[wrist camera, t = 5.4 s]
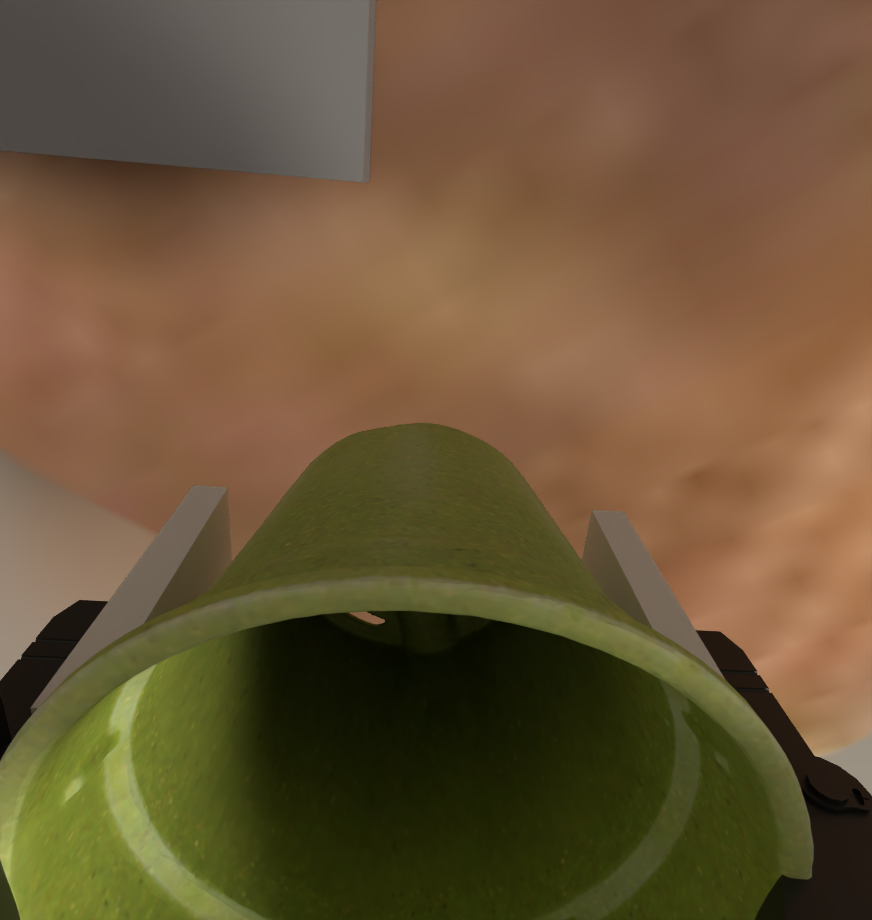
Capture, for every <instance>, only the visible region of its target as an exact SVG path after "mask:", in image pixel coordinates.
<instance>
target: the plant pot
mask: <svg viewBox="0 0 872 920" xmlns="http://www.w3.org/2000/svg"><path fill="white" fill-rule="evenodd" d="M365 611H366V612H368V613H371V614H372V615H375V616H377V617H379V618H381V619H385V623H383V624H372V623H369V622H366V621H364V620H362V619H359V618H357V617H355V616H354V615H352V614H350V613H348V612H365ZM813 857H814V844H813V838H812V833H811V826H810V818H809V814H808V811H807V807H806V804H805V800H804V797H803V794H802V790H801V787H800V784H799V782H798V779H797V777H796V775H795V772H794V770H793V768H792V766H791V764H790V762H789V760H788V758H787V756H786V754H785V753H784V751H783V750H782V748H781V747H780V745H779V744H778V742H777V741H776V739H775V738H774V736H773V735H772V733H771V732H770V730H769V729H768V728H767V727H766V725H765V724H764V723H763V721H762V720H761V719H760V718H759V716H758V715H757V714H756V713H755V711H754V710H753V709H752V708H751V706H750V705H749V704H748V702H747V701H746V700H745V699H744V698H743V697H742V696H741V695H740V694H739V693H738V692H737V691H736V690H735V689H734V688H733V687H732V686H731V685H730V684H729V683H728V682H727V681H726V680H725V679H724V678H723V677H722V676H720V675H719V674H718V673H717V672H715V671H714V670H713V669H712V668H711V667H709V666H708V665H707V664H706V663H704V662H703V661H702V660H700V659H699V658H697V657H696V656H694V655H693V654H692V653H690V652H689V651H687V650H686V649H684V648H683V647H681V646H680V645H678V644H677V643H675V642H674V641H672V640H670V639H669V638H667V637H665V636H664V635H662V634H660V633H659V632H657V631H655V630H654V629H652V628H650V627H648V626H646V625H644V624H642V623H640V622H638V621H636V620H634V619H633V618H632V617H631V616H630V615H629V614H628V613H626V612H625V611H624V610H623V609H621V608H620V607H619V606H618V605H616V604H615V603H614V602H612V601H611V600H610V599H608V597H607V596H606V594H605V593H604V591H603V590H602V589H601V587H600V586H599V584H598V583H597V582H596V580H595V579H594V577H593V576H592V574H591V573H590V572H589V570H588V569H587V567H586V566H585V564H584V563H583V562H582V560H581V559H580V557H579V556H578V554H577V553H576V552H575V550H574V549H573V547H572V546H571V544H570V543H569V542H568V540H567V539H566V537H565V536H564V534H563V533H562V532H561V530H560V529H559V527H558V526H557V524H556V523H555V521H554V520H553V519H552V517H551V516H550V514H549V513H548V511H547V510H546V509H545V507H544V506H543V504H542V503H541V501H540V500H539V499H538V497H537V496H536V494H535V493H534V491H533V490H532V488H531V487H530V486H529V484H528V483H527V481H526V480H525V478H524V477H523V476H522V475H521V473H520V472H519V471H518V470H517V468H516V467H515V466H514V465H513V463H512V462H511V461H510V460H508V459H507V458H506V457H505V456H504V455H503V454H502V453H500V452H499V451H498V450H497V449H495V448H494V447H492V446H491V445H489V444H488V443H486V442H484V441H482V440H480V439H479V438H477V437H474V436H472V435H470V434H467V433H465V432H462V431H460V430H457V429H454V428H451V427H448V426H443V425H439V424H432V423H415V424H404V425H396V426H390V427H383V428H377V429H372V430H367V431H362V432H358V433H355V434H353V435H350V436H348V437H346V438H344V439H342V440H340V441H338V442H336V443H335V444H334V445H332V446H331V447H329V448H328V449H327V450H325V451H324V452H323V453H322V454H320V455H319V456H318V457H317V458H316V459H315V460H314V461H313V462H311V463H310V465H309V466H308V467H307V468H306V469H305V471H304V472H303V473H302V474H301V475H300V477H299V478H298V479H297V480H296V482H295V483H294V484H293V485H292V486H291V488H290V489H289V490H288V491H287V492H286V494H285V495H284V496H283V498H282V499H281V500H280V502H279V503H278V504H277V506H276V507H275V508H274V510H273V511H272V512H271V514H270V515H269V516H268V518H267V519H266V520H265V522H264V523H263V524H262V525H261V527H260V528H259V529H258V530H257V532H256V533H255V534H254V535H253V537H252V538H251V539H250V540H249V542H248V543H247V544H246V545H245V546H244V548H243V549H242V550H241V551H240V553H239V554H238V555H237V556H236V558H235V559H234V560H233V561H232V563H231V564H230V565H229V566H228V567H227V569H226V570H225V571H224V572H223V573H222V574H221V576H220V577H219V578H218V579H217V581H216V582H215V583H214V584H213V585H212V587H211V588H210V589H209V590H208V591H206V592H204V593H203V594H201V595H200V596H198V597H197V598H195V599H194V600H192V601H190V602H189V603H188V604H186V605H183V606H181V607H178V608H176V609H174V610H171V611H169V612H166V613H164V614H162V615H159V616H157V617H155V618H153V619H152V620H150V621H148V622H146V623H144V624H143V625H141V626H139V627H137V628H136V629H134V630H132V631H130V632H129V633H127V634H125V635H123V636H122V637H120V638H119V639H117V640H116V641H114V642H112V643H111V644H109V645H108V646H106V647H105V648H104V649H102V650H101V651H99V652H98V653H96V654H95V655H93V656H92V657H91V658H90V659H89V660H87V661H86V662H85V663H84V664H82V665H81V666H80V667H79V668H77V669H76V670H75V671H74V672H72V673H71V674H70V675H69V676H68V677H67V678H66V679H65V680H64V681H63V682H62V683H61V684H60V685H59V686H58V687H57V688H56V689H55V690H54V691H53V692H52V693H51V694H50V695H49V696H48V698H47V699H46V700H45V701H44V702H43V703H42V704H41V705H40V706H39V707H38V708H37V710H36V711H35V712H34V713H33V714H32V715H31V717H30V718H29V719H28V720H27V721H26V723H25V724H24V725H23V727H22V728H21V729H20V730H19V732H18V733H17V735H16V736H15V737H14V739H13V740H12V742H11V743H10V745H9V746H8V748H7V750H6V752H5V753H4V755H3V757H2V759H1V761H0V860H1V863H2V866H3V869H4V872H5V875H6V877H7V880H8V883H9V885H10V888H11V891H12V893H13V896H14V899H15V902H16V905H17V908H18V912H19V916H20V920H755V918H756V915H757V913H758V911H759V909H760V907H761V906H762V904H763V902H764V900H765V899H766V897H767V895H768V893H769V892H770V890H771V889H772V888H773V886H774V885H775V883H776V881H777V880H778V879H779V878H780V876H781V875H782V874H783V875H784V876H786V877H790V878H795V879H807V880H808V879H810V878H811V877H812V864H813Z"/></svg>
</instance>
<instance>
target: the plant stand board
mask: <svg viewBox="0 0 872 920" xmlns="http://www.w3.org/2000/svg"><path fill="white" fill-rule="evenodd" d="M375 16H376V0H0V151H10V152H22V153H33V154H44V155H56V156H67V157H79V158H90V159H102V160H113V161H124V162H136V163H147V164H159V165H170V166H181V167H193V168H204V169H216V170H227V171H239V172H250V173H261V174H273V175H284V176H296V177H307V178H319V179H330V180H341V181H353V182H369V181H370V153H371V126H372V98H373V71H374V43H375Z"/></svg>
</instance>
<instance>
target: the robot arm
mask: <svg viewBox="0 0 872 920" xmlns="http://www.w3.org/2000/svg"><path fill="white" fill-rule="evenodd" d="M582 562H583V563H584V564H585V566H586V567H587V569H588V570H589V572H590V573H591V574H592V576H593V577H594V579H595V580H596V582H597V583H598V584H599V586H600V587H601V589H602V590H603V591H604V593H605V594H606V596H607V597H608V599H610V600H611V601H612V602H614V603H615V604H616V605H618V606H619V607H620V608H621V609H623V610H624V611H625V612H626V613H628V614H629V615H630V616H631V617H632V618H633V619H634V620H636V621H638V622H640V623H642V624H644V625H646V626H648V627H650V628H652V629H654V630H655V631H657V632H659V633H660V634H662V635H664V636H665V637H667V638H669V639H670V640H672V641H674V642H675V643H677V644H678V645H680V646H681V647H683V648H684V649H686V650H687V651H689V652H690V653H692V654H693V655H694V656H696V657H697V658H699V659H700V660H702V661H703V662H704V663H706V664H707V665H708V666H709V667H711V668H712V669H713V670H714V671H715V672H717V673H718V674H719V675H720V676H722V677H723V678H724V679H725V680H726V681H727V682H728V683H729V684H730V685H731V686H732V687H733V688H734V689H735V690H736V691H737V692H738V693H739V694H740V695H741V696H742V697H743V698H744V699H745V700H746V701H747V702H748V704H749V705H750V706H751V708H752V709H753V710H754V711H755V713H756V714H757V715H758V716H759V718H760V719H761V720H762V721H763V723H764V724H765V725H766V727H767V728H768V729H769V730H770V732H771V733H772V735H773V736H774V738H775V739H776V741H777V742H778V744H779V745H780V747H781V748H782V750H783V751H784V753H785V754H786V756H787V758H788V760H789V762H790V764H791V766H792V768H793V770H794V772H795V775H796V777H797V779H798V782H799V784H800V787H801V790H802V794H803V797H804V800H805V804H806V807H807V811H808V814H809V818H810V826H811V833H812V838H813V844H814V857H813V864H812V877H811V878H810V879H808V880H807V879H795V878H790V877H786V876H784V875H783V874H782V875H781V876H780V878H779V879H778V880H777V881H776V883H775V885H774V886H773V888H772V889H771V890H770V892H769V893H768V895H767V897H766V899H765V900H764V902H763V904H762V906H761V907H760V909H759V911H758V913H757V915H756V918H755V920H872V796H871V794H870V793H869V792H868V791H867V790H866V789H865V788H864V787H863V785H862V784H861V783H860V782H859V781H858V780H857V779H856V778H854V777H853V776H852V775H850V774H849V773H847V772H846V771H845V770H843V769H842V768H841V767H839V766H837V765H835V764H833V763H831V762H829V761H827V760H824V759H822V758H820V757H816V756H814V755H813V753H812V752H811V750H810V749H809V747H808V746H807V744H806V743H805V741H804V740H803V738H802V737H801V735H800V734H799V732H798V731H797V729H796V728H795V726H794V725H793V724H792V722H791V721H790V719H789V718H788V716H787V715H786V713H785V712H784V710H783V709H782V707H781V706H780V704H779V703H778V701H777V700H776V698H775V697H774V696H773V694H772V693H769V688H768V687H767V685H766V684H765V682H764V681H763V679H762V678H761V676H760V675H757V670H756V669H755V667H754V666H753V665H752V663H751V662H750V660H749V659H748V657H747V656H746V654H745V653H744V651H743V650H742V649H741V648H739V647H738V646H737V645H736V644H735V643H733V642H732V641H731V640H730V639H728V638H727V637H726V636H725V635H724V634H722V633H721V632H717V631H698V630H695V629H694V627H693V625H692V624H691V622H690V620H689V619H688V617H687V615H686V614H685V612H684V610H683V609H682V607H681V605H680V604H679V602H678V600H677V599H676V597H675V595H674V594H673V592H672V591H671V589H670V587H669V586H668V584H667V582H666V581H665V579H664V577H663V576H662V574H661V572H660V571H659V569H658V567H657V566H656V564H655V562H654V561H653V559H652V557H651V556H650V554H649V552H648V551H647V549H646V547H645V546H644V544H643V542H642V541H641V539H640V538H639V536H638V534H637V533H636V531H635V529H634V528H633V526H632V524H631V523H630V521H629V519H628V518H627V516H626V514H625V513H624V512H617V511H601V510H592V512H591V517H590V522H589V527H588V532H587V537H586V542H585V547H584V552H583V557H582ZM231 563H232V553H231V535H230V517H229V499H228V487H213V486H196V485H193V487H192V488H191V489H190V491H189V492H188V494H187V495H186V496H185V498H184V499H183V500H182V502H181V503H180V504H179V506H178V507H177V509H176V510H175V511H174V513H173V514H172V515H171V517H170V518H169V520H168V521H167V522H166V524H165V525H164V526H163V528H162V529H161V530H160V532H159V533H158V535H157V536H156V537H155V539H154V540H153V541H152V543H151V544H150V545H149V547H148V548H147V550H146V551H145V552H144V554H143V555H142V556H141V558H140V559H139V560H138V562H137V563H136V565H135V566H134V567H133V569H132V570H131V571H130V573H129V574H128V576H127V577H126V578H125V580H124V581H123V582H122V584H121V585H120V586H119V588H118V589H117V590H116V592H115V593H114V595H113V596H112V597H111V599H110V600H109V601H88V600H79V601H77V602H76V603H74V604H73V605H71V606H70V607H68V608H67V609H65V610H64V611H62V612H61V613H59V614H58V615H56V616H54V617H53V618H52V619H51V621H50V622H49V623H48V624H47V625H46V627H45V628H44V629H43V630H42V631H41V633H40V634H39V635H38V636H37V638H36V642H32V643H31V645H30V646H29V647H28V648H27V649H26V651H25V652H24V653H23V654H22V658H21V660H17V661H16V663H15V664H14V665H13V666H12V667H11V669H10V670H9V671H8V672H7V673H6V675H5V676H4V677H3V678H2V679H1V681H0V761H1V759H2V757H3V755H4V753H5V752H6V750H7V748H8V746H9V745H10V743H11V742H12V740H13V739H14V737H15V736H16V735H17V733H18V732H19V730H20V729H21V728H22V727H23V725H24V724H25V723H26V721H27V720H28V719H29V718H30V717H31V715H32V714H33V713H34V712H35V711H36V710H37V708H38V707H39V706H40V705H41V704H42V703H43V702H44V701H45V700H46V699H47V698H48V696H49V695H50V694H51V693H52V692H53V691H54V690H55V689H56V688H57V687H58V686H59V685H60V684H61V683H62V682H63V681H64V680H65V679H66V678H67V677H68V676H69V675H70V674H71V673H72V672H74V671H75V670H76V669H77V668H79V667H80V666H81V665H82V664H84V663H85V662H86V661H87V660H89V659H90V658H91V657H92V656H93V655H95V654H96V653H98V652H99V651H101V650H102V649H104V648H105V647H106V646H108V645H109V644H111V643H112V642H114V641H116V640H117V639H119V638H120V637H122V636H123V635H125V634H127V633H129V632H130V631H132V630H134V629H136V628H137V627H139V626H141V625H143V624H144V623H146V622H148V621H150V620H152V619H153V618H155V617H157V616H159V615H162V614H164V613H166V612H169V611H171V610H174V609H176V608H178V607H181V606H183V605H186V604H188V603H189V602H190V601H192V600H194V599H195V598H197V597H198V596H200V595H201V594H203V593H204V592H206V591H208V590H209V589H210V588H211V587H212V585H213V584H214V583H215V582H216V581H217V579H218V578H219V577H220V576H221V574H222V573H223V572H224V571H225V570H226V569H227V567H228V566H229V565H230V564H231ZM0 920H20V916H19V912H18V908H17V905H16V902H15V899H14V896H13V893H12V891H11V888H10V885H9V883H8V880H7V877H6V875H5V872H4V869H3V866H2V863H1V860H0Z"/></svg>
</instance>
